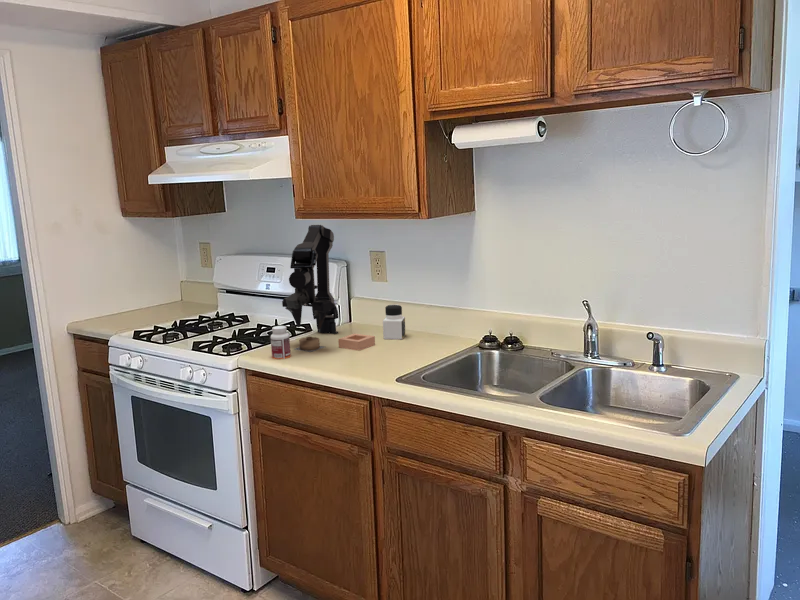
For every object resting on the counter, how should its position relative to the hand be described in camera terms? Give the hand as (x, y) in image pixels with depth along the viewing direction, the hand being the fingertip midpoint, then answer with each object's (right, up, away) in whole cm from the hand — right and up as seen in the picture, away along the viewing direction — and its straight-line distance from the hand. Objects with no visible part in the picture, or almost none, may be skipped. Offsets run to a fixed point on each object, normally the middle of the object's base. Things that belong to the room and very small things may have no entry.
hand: (308, 328), depth 243 cm
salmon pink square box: (+17, -7, +2) cm, 18 cm away
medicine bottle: (+30, -4, +17) cm, 35 cm away
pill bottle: (-8, -10, -8) cm, 16 cm away
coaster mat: (0, -8, +1) cm, 8 cm away
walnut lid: (0, -7, +1) cm, 7 cm away
